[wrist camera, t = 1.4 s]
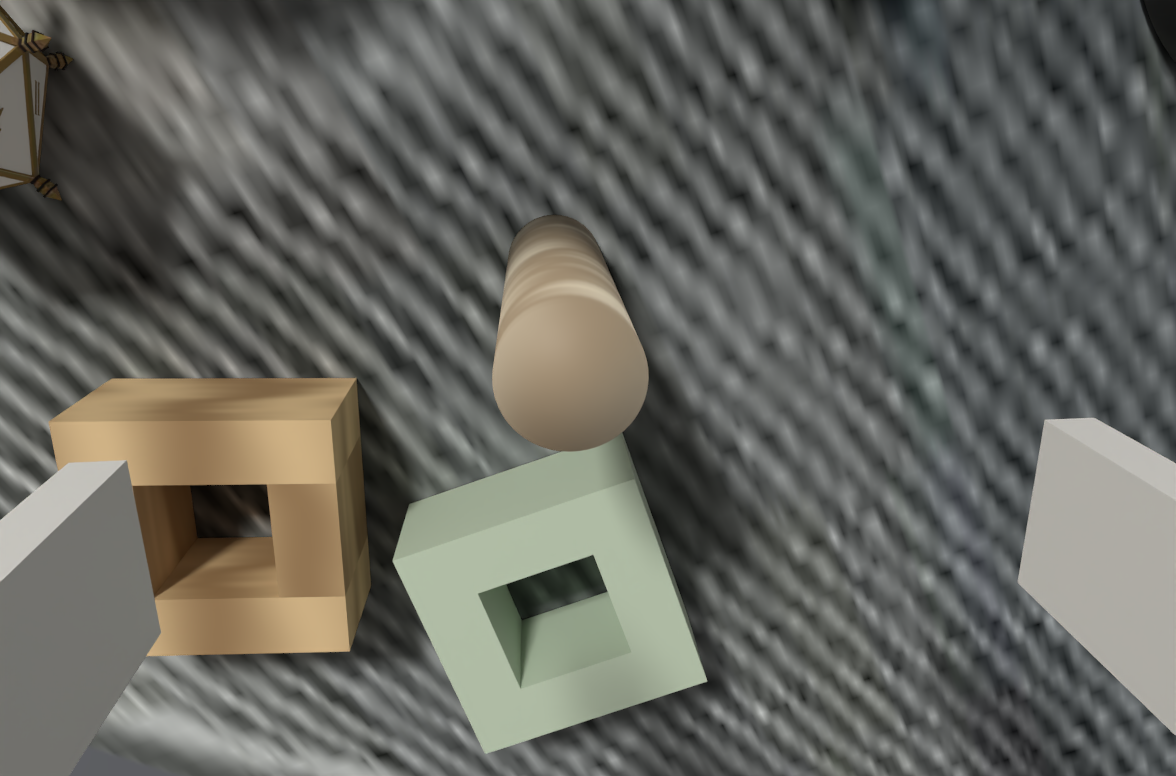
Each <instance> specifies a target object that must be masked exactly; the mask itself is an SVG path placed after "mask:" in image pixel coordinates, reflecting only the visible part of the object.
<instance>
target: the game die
mask: <svg viewBox="0 0 1176 776" xmlns="http://www.w3.org/2000/svg"><path fill="white" fill-rule="evenodd" d="M50 40H51V37H48V36H45V35H44V34H41V33H39V32H37V31H34V30H32V33H30V34H29V33H24V32H23V31H22V30H21V28H20V27H19V26H18V25H17V24H16V23H15V22H14V20H13V19H12V18H11V17H10V16H9V15H8V14H7V13H6V11H5V10H4V9H3V8H2V7H1V6H0V189H5V188H9V187H14V186H18V185H23V184H27V183H31V184H33V185H34V186H35V187H36V188H37V192H41V193H42V194H43V195H44V196H43V197H44V198H46V197H49V198H53V199H58V200H62V199H61V196H60V194H59V191H58V189H57V184H55V185H54V184H53V183H52V182H50V179H48V180H47V179H45V178H42V177H41V176H40V175H39V167H40V157H41V146H42V135H43V124H44V113H45V103H46V92H47V81H48V70H49V67H50V68H54V69H55V70H58V69H60V68H62V69H63V70H65V68H66V67H67V65H68V64H69V63H70V62H71V61H72V60H73V59H72V58H70V57H68V56H66V55H64V53H61V52H56V54H53V53H49V55H48V56H46V57H45V56H44V55H43V53H42V51H44V50H46V49H47V48H49V47H48V44H49V42H50Z"/></svg>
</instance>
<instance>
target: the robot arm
mask: <svg viewBox="0 0 1176 776" xmlns="http://www.w3.org/2000/svg"><path fill="white" fill-rule="evenodd" d="M1144 2H1145V5H1146V8H1147V11H1148V14H1149V17H1150V19H1151V22H1152V24H1153V26H1154V28H1155V31H1156V33H1157V35H1158V36H1159V38H1160V40H1161V42H1162V44H1163V46H1164V47H1165V49H1166V50H1167V52H1168V53H1169V55H1170V56H1171V58H1172V59H1173V60H1174V61H1175V63H1176V0H1144ZM1018 583H1019V584H1020V585H1021V586H1022V587H1023V588H1024V589H1025V590H1026V591H1027V592H1028V593H1029V594H1030V595H1031V596H1032V597H1033V598H1034V599H1035V600H1036V601H1037V602H1038V603H1039V604H1040V605H1041V606H1042V607H1043V608H1044V609H1045V610H1046V611H1047V612H1049V613H1050V614H1051V615H1052V616H1053V617H1054V618H1055V619H1056V620H1057V621H1058V622H1059V623H1060V624H1061V625H1062V626H1063V627H1064V628H1065V629H1066V630H1067V631H1068V632H1069V633H1070V634H1071V635H1072V636H1073V637H1074V638H1075V639H1076V640H1077V641H1078V642H1080V643H1081V644H1082V645H1083V646H1084V647H1085V648H1086V649H1087V650H1088V651H1089V652H1090V653H1091V654H1092V655H1093V656H1094V657H1095V658H1096V659H1097V660H1098V661H1099V662H1100V663H1101V664H1102V665H1103V666H1104V667H1105V668H1106V669H1107V670H1108V671H1110V672H1111V673H1112V674H1113V675H1114V676H1115V677H1116V678H1117V679H1118V680H1119V681H1120V682H1121V683H1122V684H1123V685H1124V686H1125V687H1126V688H1127V689H1128V690H1129V691H1130V692H1131V693H1132V694H1133V695H1134V696H1135V697H1136V698H1137V699H1138V700H1139V701H1141V702H1142V703H1143V704H1144V705H1145V706H1146V707H1147V708H1148V709H1149V710H1150V711H1151V712H1152V713H1153V714H1154V715H1155V716H1156V717H1157V718H1158V719H1159V720H1160V721H1161V722H1162V723H1163V724H1164V725H1165V726H1166V727H1167V728H1168V729H1169V730H1170V731H1172V732H1173V733H1174V734H1175V735H1176V463H1174V462H1172V461H1171V460H1169V459H1167V458H1165V457H1163V456H1162V455H1160V454H1158V453H1156V452H1154V451H1153V450H1151V449H1149V448H1147V447H1145V446H1144V445H1142V444H1140V443H1138V442H1137V441H1135V440H1133V439H1131V438H1129V437H1128V436H1126V435H1124V434H1122V433H1120V432H1119V431H1117V430H1115V429H1113V428H1111V427H1110V426H1108V425H1106V424H1104V423H1103V422H1101V421H1099V420H1097V419H1095V418H1077V419H1054V420H1045V422H1044V428H1043V434H1042V440H1041V446H1040V452H1039V458H1038V464H1037V470H1036V476H1035V482H1034V488H1033V494H1032V499H1031V505H1030V511H1029V517H1028V523H1027V529H1026V535H1025V541H1024V547H1023V553H1022V559H1021V565H1020V571H1019V577H1018ZM160 634H161V629H160V624H159V619H158V614H157V609H156V604H155V599H154V594H153V589H152V584H151V579H150V574H149V569H148V564H147V559H146V554H145V549H144V544H143V539H142V534H141V529H140V524H139V519H138V514H137V509H136V504H135V499H134V494H133V489H132V484H131V479H130V474H129V468H128V463H127V460H120V461H97V462H74V463H68V464H66V465H65V466H64V467H63V468H62V469H61V470H59V471H58V472H57V473H56V474H55V475H53V476H52V477H51V478H50V479H49V480H47V481H46V482H45V483H44V484H43V485H42V486H40V487H39V488H38V489H37V490H36V491H34V492H33V493H32V494H31V495H30V496H28V497H27V498H26V499H25V500H24V501H22V502H21V503H20V504H19V505H18V506H17V507H15V508H14V509H13V510H12V511H11V512H9V513H8V514H7V515H6V516H5V517H3V518H2V519H1V520H0V776H69V775H70V774H71V772H72V770H73V769H74V767H75V766H76V764H77V763H78V761H79V760H80V758H81V756H82V755H83V753H84V752H85V750H86V749H87V747H88V746H89V744H90V742H91V741H92V739H93V738H94V736H95V735H96V733H97V732H98V730H99V728H100V727H101V725H102V724H103V722H104V721H105V719H106V718H107V716H108V715H109V713H110V711H111V710H112V708H113V707H114V705H115V704H116V702H117V701H118V699H119V697H120V696H121V694H122V693H123V691H124V690H125V688H126V687H127V685H128V683H129V682H130V680H131V679H132V677H133V676H134V674H135V673H136V671H137V670H138V668H139V666H140V665H141V663H142V662H143V660H144V659H145V657H146V656H147V654H148V652H149V651H150V649H151V648H152V646H153V645H154V643H155V642H156V640H157V638H158V637H159V635H160Z"/></svg>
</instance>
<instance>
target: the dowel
mask: <svg viewBox="0 0 1176 776" xmlns="http://www.w3.org/2000/svg"><path fill="white" fill-rule="evenodd" d="M648 380H649V375H648V364H647V359H646V356H645V353H644V350H643V347H642V345H641V343H640V341H639V338H638V336H637V334H636V331H635V329H634V327H633V325H632V322H631V320H630V318H629V315H628V313H627V311H626V309H625V306H624V304H623V302H622V299H621V297H620V295H619V292H618V290H617V288H616V286H615V283H614V281H613V279H612V276H611V274H610V272H609V270H608V267H607V265H606V263H605V260H604V258H603V256H602V254H601V251H600V249H599V247H598V244H597V242H596V240H595V238H594V237H593V235H592V233H591V232H590V231H589V230H588V229H587V228H586V227H585V226H584V225H583V224H581V223H580V222H578V221H576V220H574V219H572V218H569V217H566V216H562V215H547V216H542V217H539V218H536V219H534V220H532V221H531V222H529V223H528V224H526V225H525V226H524V227H523V228H522V229H521V230H520V231H519V232H518V233H517V235H516V236H515V238H514V240H513V242H512V244H511V247H510V251H509V256H508V264H507V271H506V278H505V285H504V292H503V300H502V307H501V314H500V321H499V329H498V336H497V343H496V350H495V358H494V365H493V376H492V382H493V391H494V395H495V399H496V402H497V405H498V407H499V409H500V411H501V413H502V415H503V417H504V418H505V419H506V421H507V422H508V423H509V425H510V426H511V427H512V428H513V429H514V430H515V431H516V432H517V433H519V434H520V435H521V436H522V437H524V438H525V439H527V440H529V441H530V442H532V443H534V444H536V445H539V446H541V447H544V448H547V449H551V450H556V451H566V452H573V451H583V450H588V449H592V448H595V447H598V446H601V445H603V444H605V443H607V442H609V441H611V440H612V439H614V438H615V437H617V436H618V435H619V434H621V433H622V432H623V431H624V430H625V429H626V428H627V427H628V426H629V425H630V424H631V423H632V422H633V420H634V419H635V418H636V416H637V415H638V413H639V411H640V409H641V407H642V405H643V403H644V400H645V397H646V393H647V389H648Z"/></svg>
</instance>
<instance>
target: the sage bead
mask: <svg viewBox="0 0 1176 776" xmlns="http://www.w3.org/2000/svg"><path fill="white" fill-rule="evenodd" d="M591 555H594V558H595V560H596V563H597V565H598V568H599V570H600V573H601V576H602V578H603V581H604V583H605V586H606V588H607V591H608V592H605V593H602V594H599V595H596V596H593V597H590V598H587V599H584V600H581V601H578V602H575V603H572V604H569V605H566V606H563V607H560V608H557V609H554V610H551V611H548V612H545V613H542V614H539V615H536V616H533V617H530V618H527V619H524V620H521V618H520V615H519V613H518V611H517V608H516V606H515V604H514V602H513V599H512V597H511V595H510V592H509V590H508V588H507V585H506V584H508V583H511V582H514V581H517V580H520V579H523V578H526V577H529V576H532V575H535V574H538V573H541V572H543V571H546V570H549V569H552V568H555V567H558V566H561V565H564V564H567V563H570V562H573V561H576V560H579V559H582V558H585V557H588V556H591ZM393 563H394V565H395V568H396V570H397V572H398V574H399V576H400V578H401V580H402V582H403V584H404V586H405V588H406V590H407V592H408V595H409V597H410V599H411V601H412V603H413V605H414V607H415V609H416V611H417V613H418V615H419V617H420V619H421V622H422V624H423V626H424V628H425V630H426V632H427V634H428V636H429V638H430V640H431V642H432V644H433V646H434V649H435V651H436V653H437V655H438V657H439V659H440V661H441V663H442V665H443V667H444V669H445V671H446V673H447V676H448V678H449V680H450V682H451V684H452V686H453V688H454V690H455V692H456V694H457V696H458V698H459V700H460V702H461V705H462V707H463V709H464V711H465V713H466V715H467V717H468V719H469V721H470V723H471V725H472V727H473V729H474V732H475V734H476V736H477V738H478V740H479V742H480V744H481V746H482V748H483V750H484V752H485V754H487V753H490V752H493V751H496V750H499V749H502V748H505V747H508V746H511V745H514V744H517V743H520V742H523V741H527V740H530V739H533V738H536V737H539V736H542V735H545V734H548V733H551V732H554V731H557V730H560V729H563V728H566V727H569V726H572V725H575V724H579V723H582V722H585V721H588V720H591V719H594V718H597V717H600V716H603V715H606V714H609V713H612V712H615V711H618V710H621V709H624V708H628V707H631V706H634V705H637V704H640V703H643V702H646V701H649V700H652V699H655V698H658V697H661V696H664V695H667V694H670V693H673V692H676V691H680V690H683V689H686V688H689V687H692V686H695V685H698V684H701V683H704V682H707V678H706V675H705V672H704V668H703V665H702V662H701V658H700V655H699V652H698V648H697V645H696V641H695V638H694V635H693V631H692V628H691V625H690V621H689V618H688V615H687V612H686V609H685V606H684V604H683V601H682V598H681V595H680V592H679V590H678V587H677V584H676V581H675V578H674V576H673V573H672V570H671V567H670V564H669V562H668V559H667V556H666V553H665V550H664V548H663V545H662V542H661V539H660V537H659V534H658V531H657V528H656V525H655V523H654V520H653V517H652V514H651V511H650V509H649V506H648V503H647V500H646V497H645V495H644V492H643V489H642V486H641V483H640V481H639V478H638V475H637V472H636V469H635V467H634V464H633V461H632V458H631V455H630V453H629V450H628V447H627V444H626V442H625V439H624V436H623V433H621V434H619V435H618V436H617V437H615V438H614V439H612V440H611V441H609V442H607V443H605V444H603V445H601V446H598V447H595V448H592V449H588V450H583V451H573V452H566V451H562V452H559V453H557V454H554V455H551V456H548V457H545V458H542V459H539V460H536V461H533V462H530V463H527V464H525V465H522V466H519V467H516V468H513V469H510V470H507V471H504V472H501V473H498V474H495V475H492V476H490V477H487V478H484V479H481V480H478V481H475V482H472V483H469V484H466V485H463V486H460V487H458V488H455V489H452V490H449V491H446V492H443V493H440V494H437V495H434V496H431V497H428V498H426V499H423V500H420V501H417V502H414V503H411V504H409V507H408V510H407V513H406V517H405V520H404V524H403V527H402V530H401V534H400V537H399V541H398V544H397V547H396V551H395V554H394V558H393Z"/></svg>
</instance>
